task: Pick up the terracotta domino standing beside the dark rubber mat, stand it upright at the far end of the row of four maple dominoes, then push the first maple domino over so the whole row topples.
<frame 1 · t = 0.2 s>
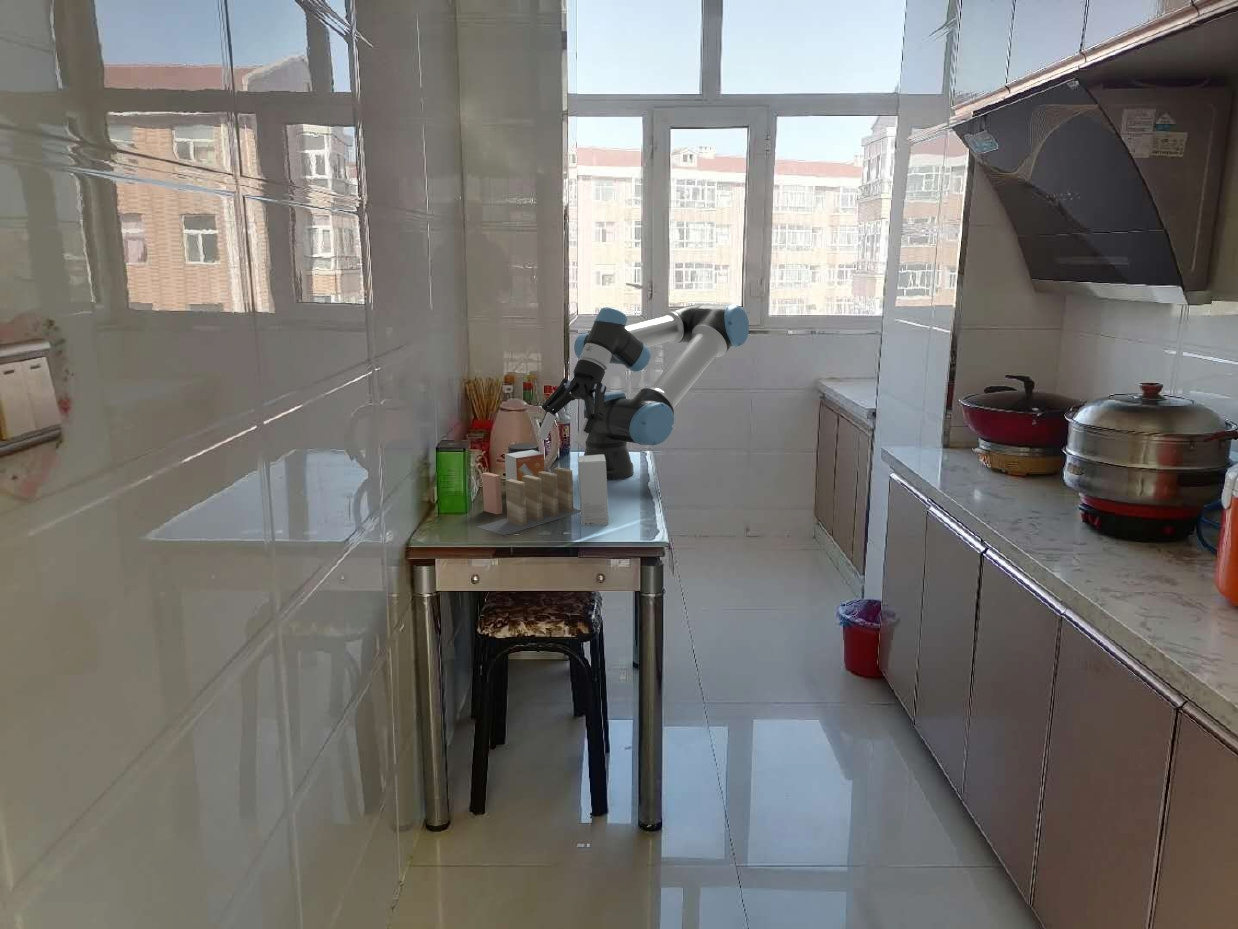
hand: (559, 440, 230), 16 cm above the table, tool tilted 35°, fingers open, 13 cm apart
domino 3: (533, 518, 220), point 1 cm above the table, touching mat
mat: (531, 521, 219), on the table
domino 4: (517, 523, 216), point 1 cm above the table, touching mat
skincare box: (594, 523, 217), on the table
domino 5: (493, 514, 226), on the table
domino 1: (564, 509, 227), point 1 cm above the table, touching mat
small box: (526, 504, 235), on the table
jar: (525, 490, 249), on the table
domino 2: (549, 513, 223), point 1 cm above the table, touching mat
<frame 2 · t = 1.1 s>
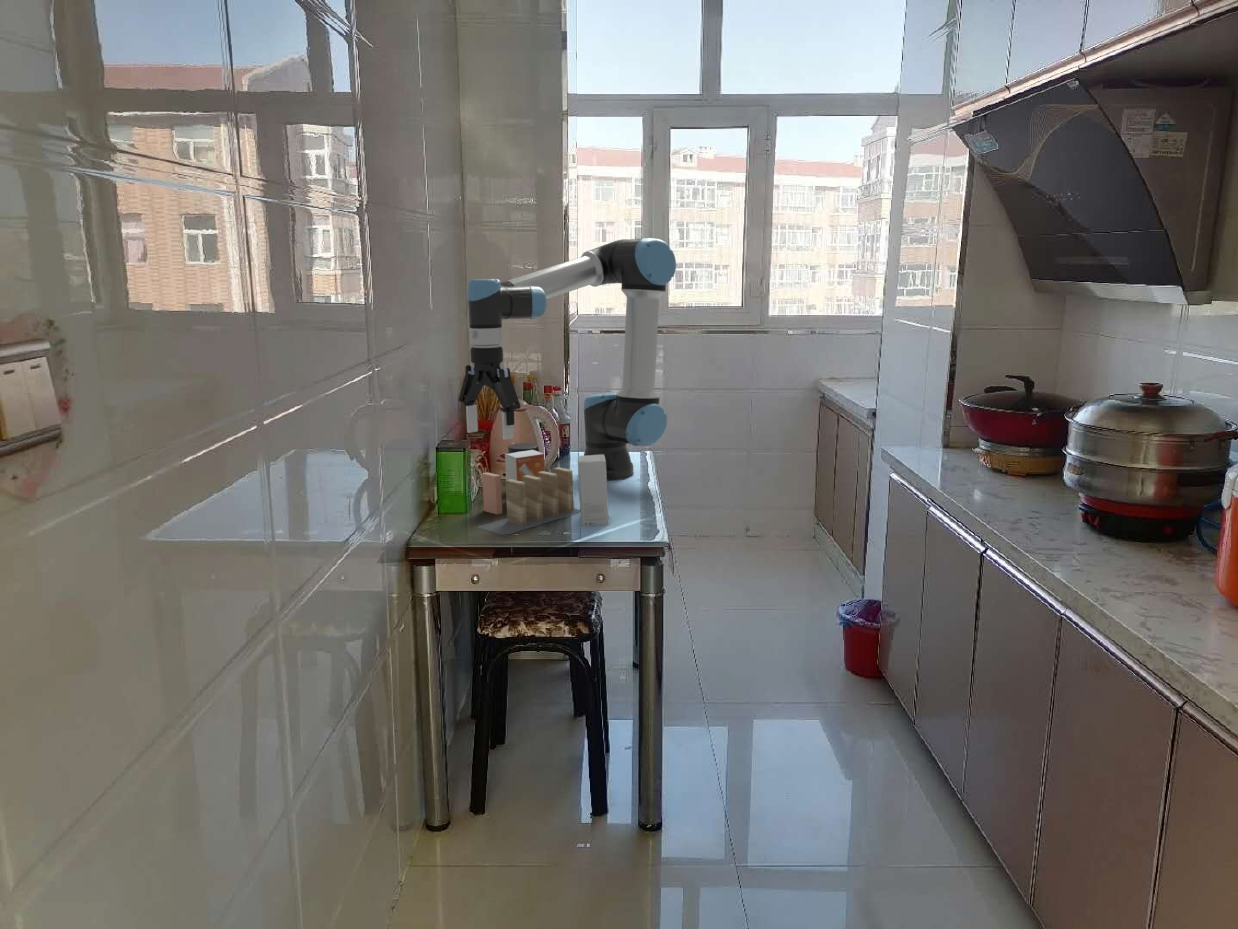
hand: (490, 435, 222), 20 cm above the table, tool pointing down, fingers open, 13 cm apart
nothing on the table moved.
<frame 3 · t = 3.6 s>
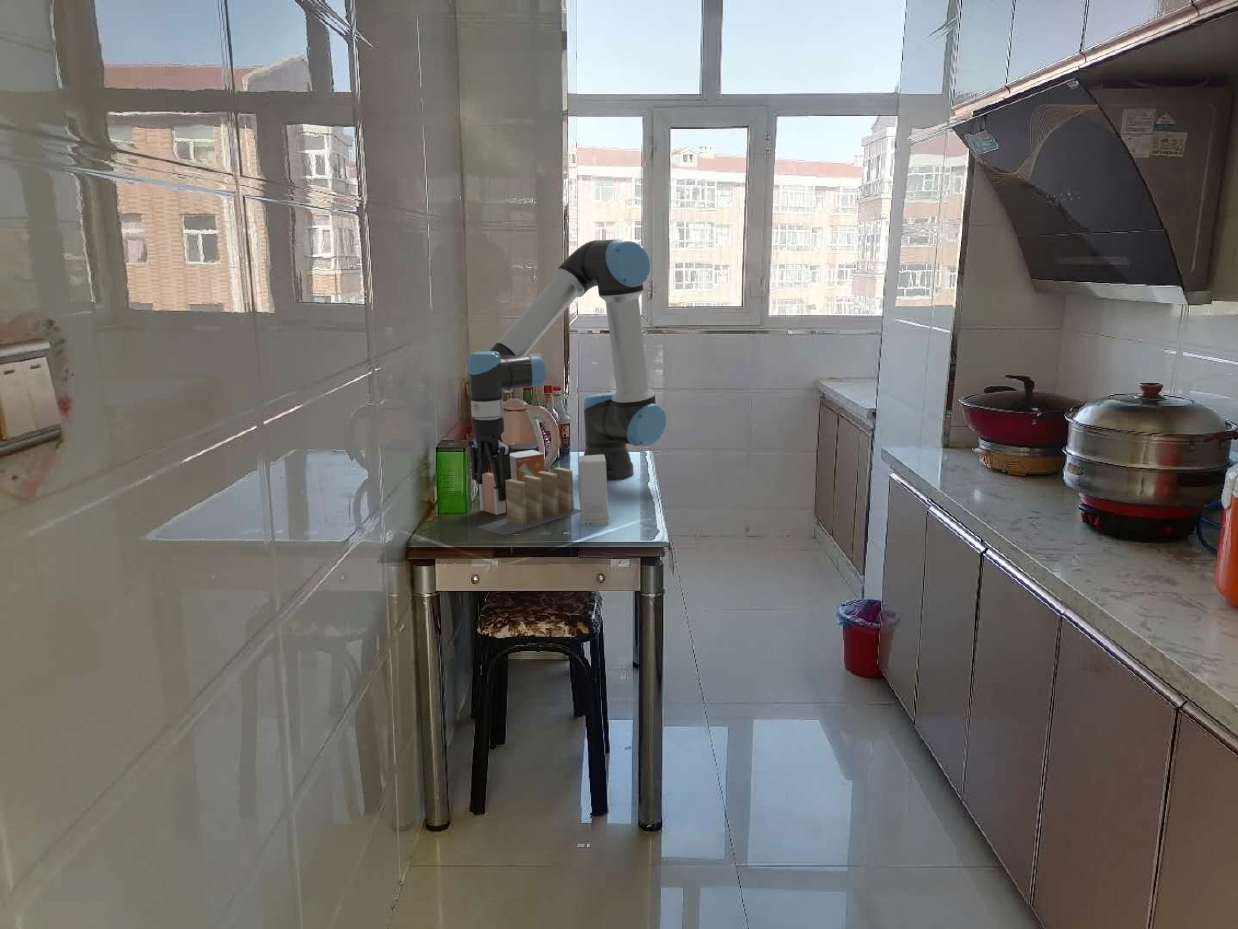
hand: (493, 511, 226), 1 cm above the table, tool pointing down, fingers closed on domino 5, 5 cm apart
domino 5: (493, 514, 226), on the table, touching gripper
everything else where it was.
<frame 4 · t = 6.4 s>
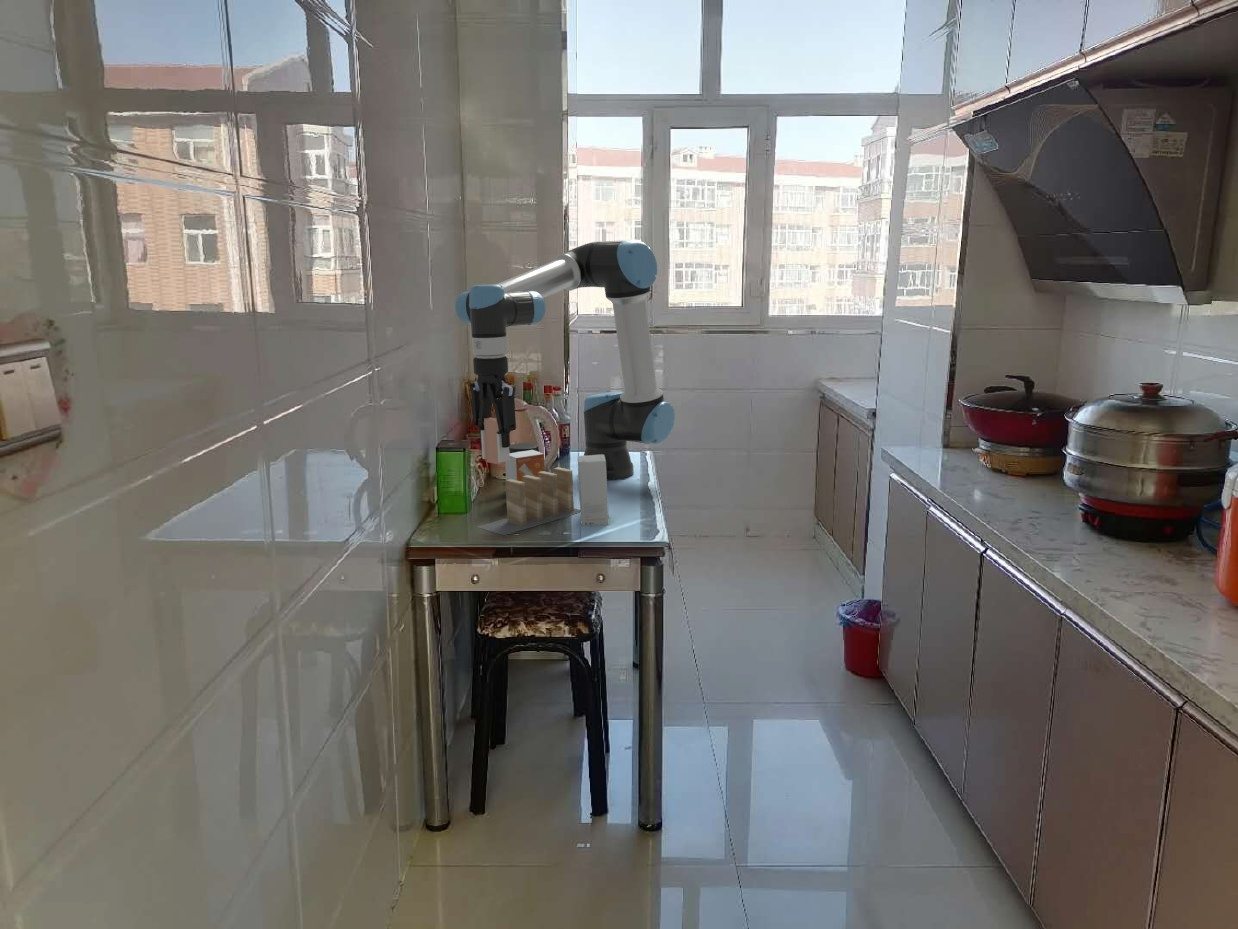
hand: (496, 459, 209), 17 cm above the table, tool pointing down, fingers closed on domino 5, 5 cm apart
domino 5: (496, 462, 209), point 16 cm above the table, touching gripper
everything else where it was.
when the fingers open (2 cm above the table, at t = 9.3 s): domino 5 stays where it is, resting on mat.
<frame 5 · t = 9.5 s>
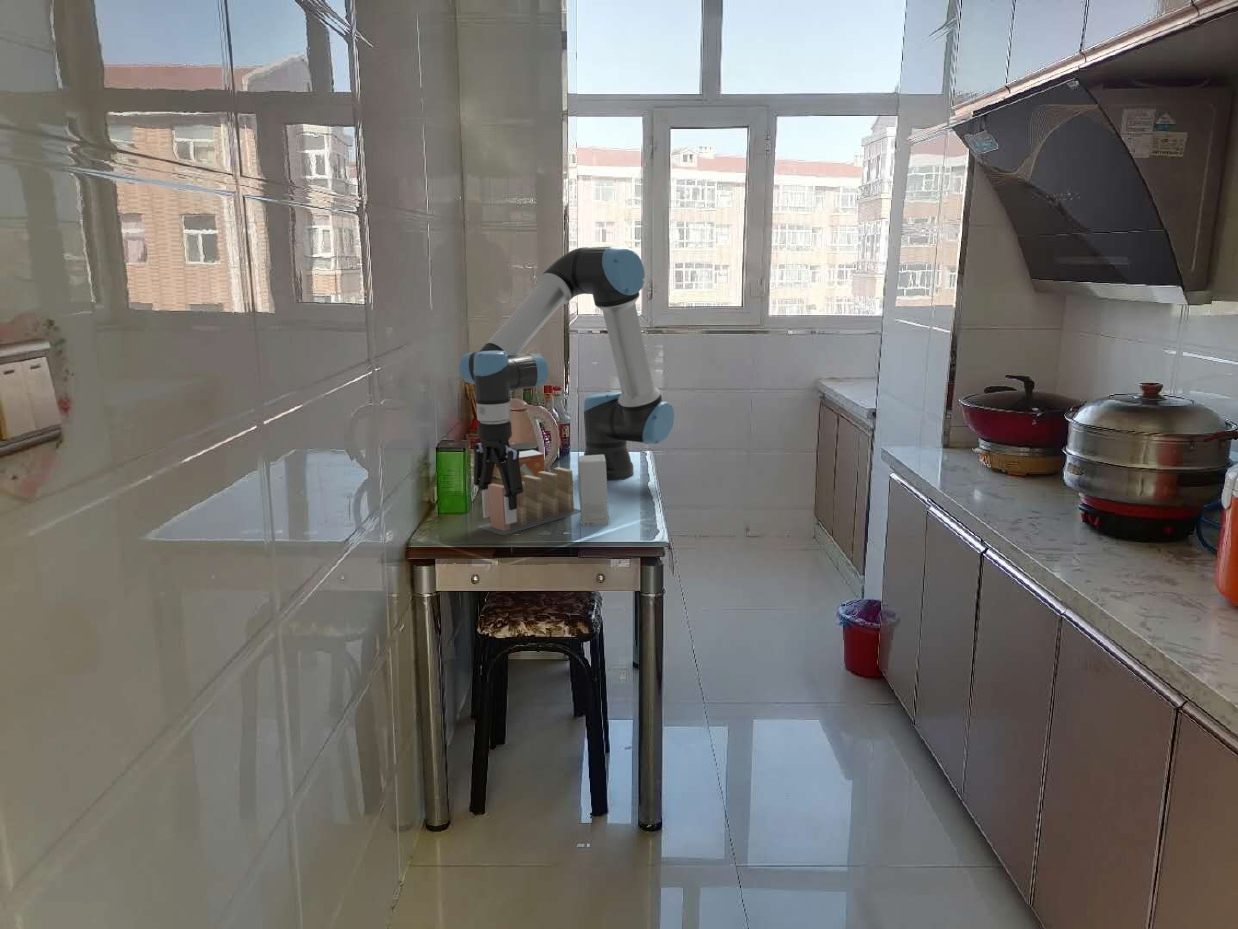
hand: (499, 519, 212), 3 cm above the table, tool pointing down, fingers open, 7 cm apart
domino 5: (500, 527, 213), point 1 cm above the table, touching mat
everything else where it was.
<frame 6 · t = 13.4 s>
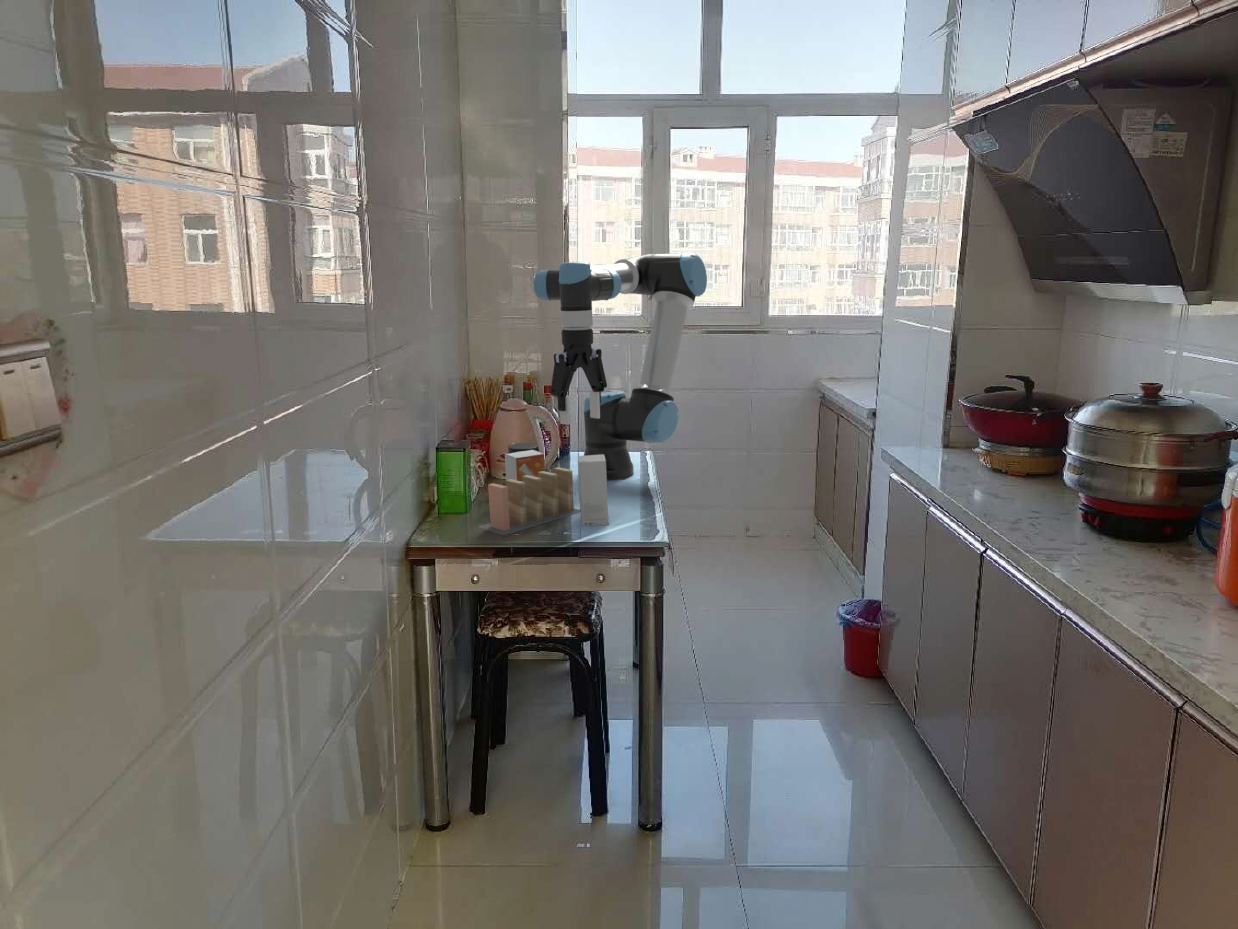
hand: (580, 420, 226), 22 cm above the table, tool pointing down, fingers open, 9 cm apart
nothing on the table moved.
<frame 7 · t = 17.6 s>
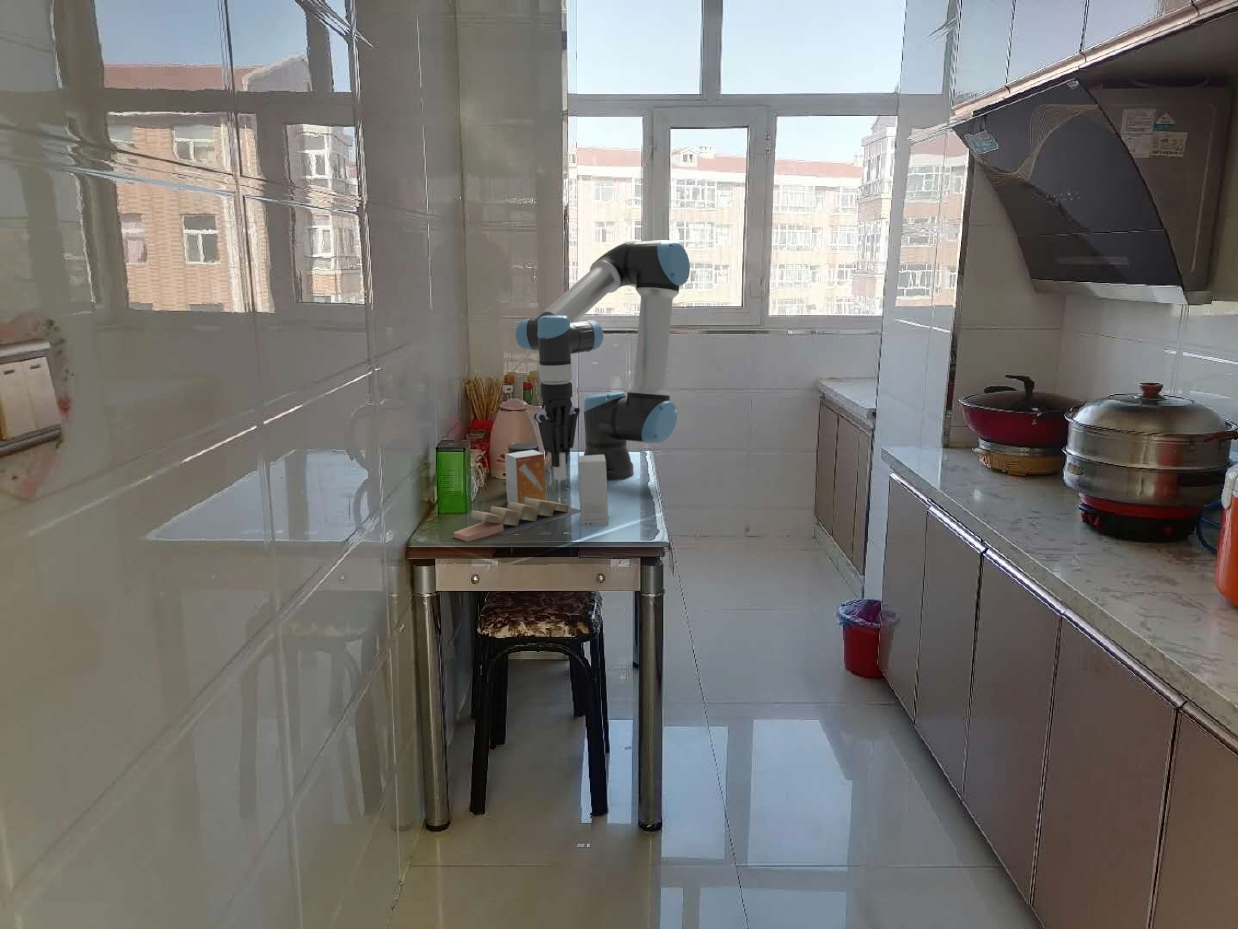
hand: (560, 478, 224), 8 cm above the table, tool pointing down, fingers closed
domino 3: (529, 516, 219), point 1 cm above the table, tilted 71°, touching domino 2, domino 4, mat
domino 4: (511, 520, 215), point 2 cm above the table, tilted 71°, touching domino 3, domino 5
domino 5: (496, 525, 212), point 2 cm above the table, tilted 93°, touching domino 4, mat
domino 1: (561, 507, 226), point 1 cm above the table, tilted 71°, touching domino 2, mat
domino 2: (545, 511, 222), point 1 cm above the table, tilted 71°, touching domino 1, domino 3, mat
everything else where it was.
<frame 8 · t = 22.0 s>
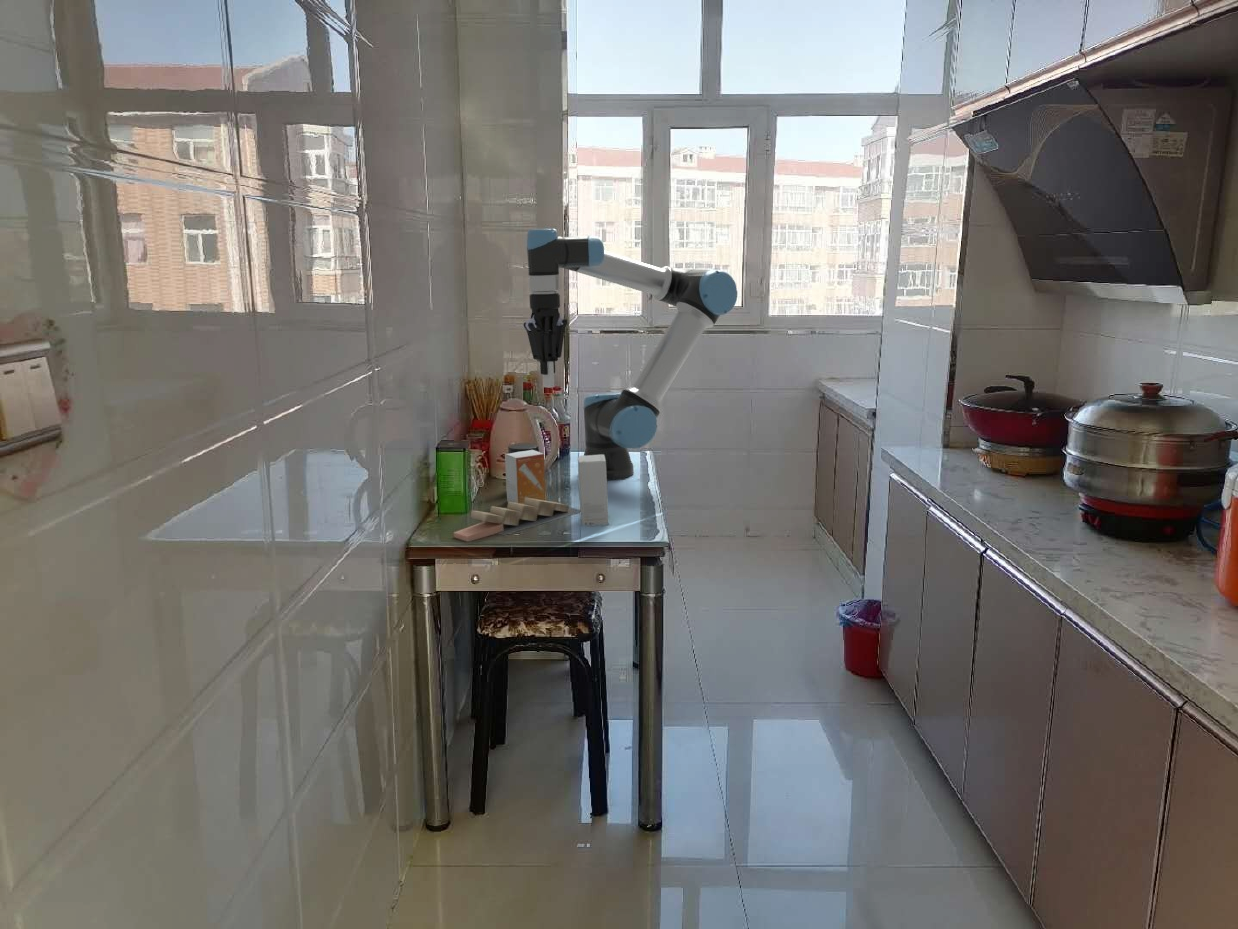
hand: (548, 386, 236), 28 cm above the table, tool pointing down, fingers closed
nothing on the table moved.
at the end: domino 5 tilted 93°; domino 5 inside the target area (0.1 cm from its centre), point 1.5 cm above the table; domino 4 tilted 71° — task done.
